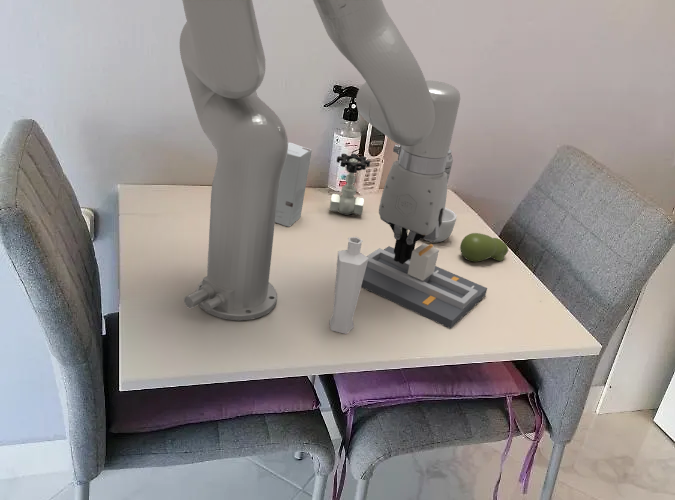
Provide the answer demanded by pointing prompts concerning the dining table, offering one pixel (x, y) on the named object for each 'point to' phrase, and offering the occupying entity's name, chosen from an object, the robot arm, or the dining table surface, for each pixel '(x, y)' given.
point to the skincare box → (292, 185)
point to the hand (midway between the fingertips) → (402, 259)
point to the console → (421, 288)
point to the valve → (349, 186)
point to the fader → (423, 262)
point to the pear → (482, 247)
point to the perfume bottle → (347, 285)
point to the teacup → (446, 226)
